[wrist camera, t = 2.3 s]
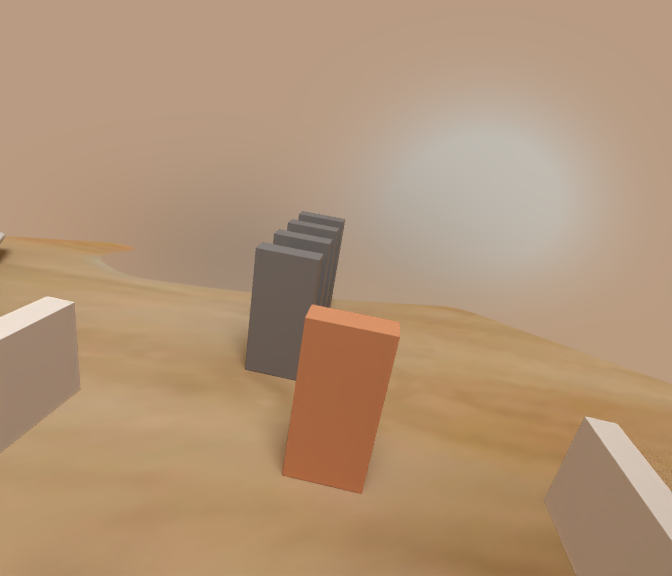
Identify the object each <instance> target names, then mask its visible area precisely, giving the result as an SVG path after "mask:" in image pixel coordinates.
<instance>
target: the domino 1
mask: <svg viewBox="0 0 672 576" xmlns="http://www.w3.org/2000/svg"><path fill="white" fill-rule="evenodd" d="M323 255H324V254H321V253H316V252H311V251H305V250H300V249H295V248H290V247H285V246H280V245H275V244H269V243H262V244H260V245H259V246H258V247H257V248H256V254H255V265H254V276H253V287H252V298H251V310H250V321H249V332H248V344H247V355H246V366H245V369H246V370H250V371H255V372H260V373H264V374H269V375H273V376H278V377H283V378H287V379H292V380H296V378H297V371H298V364H299V357H300V350H301V343H302V336H303V329H304V322H305V317H306V315H307V313H308V311H309V309H310V307H311V305H312V304H313V305H316V301H317V294H318V288H319V281H320V275H321V268H322V262H323Z"/></svg>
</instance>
